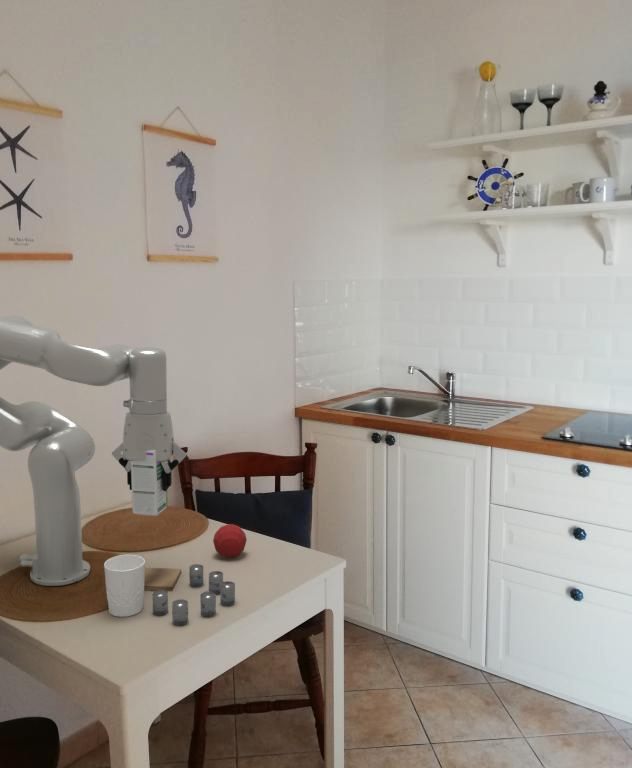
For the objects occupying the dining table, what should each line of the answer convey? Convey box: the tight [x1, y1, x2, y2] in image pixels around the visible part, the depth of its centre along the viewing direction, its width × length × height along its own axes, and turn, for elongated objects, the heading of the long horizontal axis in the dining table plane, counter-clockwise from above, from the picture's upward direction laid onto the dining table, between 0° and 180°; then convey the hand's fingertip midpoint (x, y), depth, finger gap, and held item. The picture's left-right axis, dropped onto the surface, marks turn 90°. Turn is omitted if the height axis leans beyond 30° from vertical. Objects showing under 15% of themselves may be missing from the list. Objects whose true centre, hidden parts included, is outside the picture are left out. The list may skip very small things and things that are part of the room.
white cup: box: [103, 554, 146, 618], centre depth 142 cm, size 8×8×10 cm
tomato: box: [212, 524, 247, 558], centre depth 170 cm, size 8×8×8 cm
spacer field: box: [151, 563, 236, 627], centre depth 146 cm, size 16×20×4 cm
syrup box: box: [131, 449, 169, 517], centre depth 152 cm, size 6×6×14 cm
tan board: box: [144, 567, 182, 592], centre depth 156 cm, size 11×9×1 cm
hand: (149, 487), depth 152 cm, fingers closed on syrup box, 6 cm apart
